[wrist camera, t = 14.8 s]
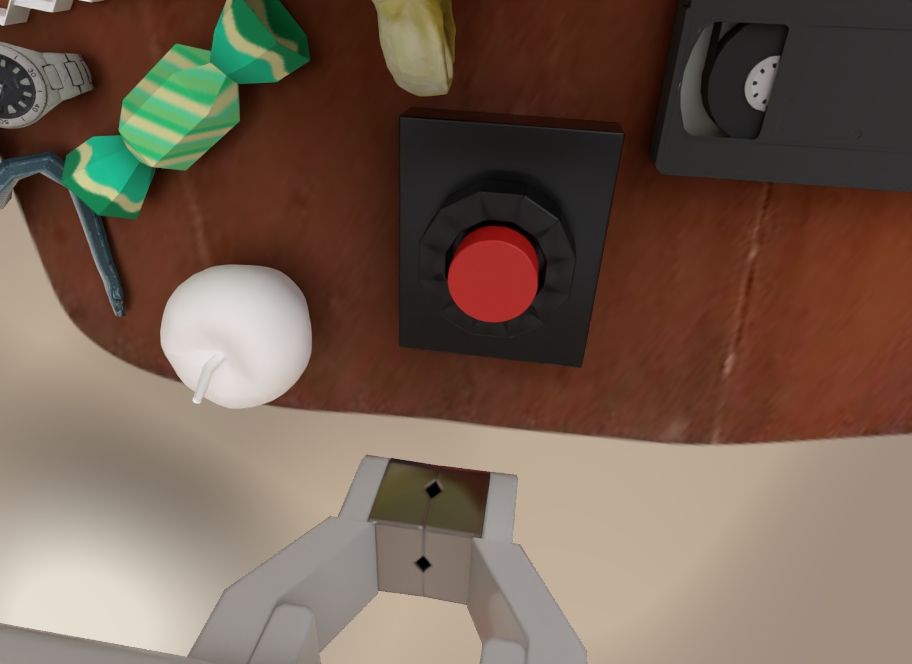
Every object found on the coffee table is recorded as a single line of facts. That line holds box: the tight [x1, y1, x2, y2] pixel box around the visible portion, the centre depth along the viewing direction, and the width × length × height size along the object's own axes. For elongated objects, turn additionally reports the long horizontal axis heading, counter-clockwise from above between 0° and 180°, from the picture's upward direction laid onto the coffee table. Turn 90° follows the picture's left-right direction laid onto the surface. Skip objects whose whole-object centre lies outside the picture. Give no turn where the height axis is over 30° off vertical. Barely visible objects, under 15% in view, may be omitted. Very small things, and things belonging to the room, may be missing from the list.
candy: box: [61, 0, 310, 219], centre depth 25 cm, size 12×3×4 cm
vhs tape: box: [649, 0, 912, 192], centre depth 22 cm, size 14×8×2 cm, turn 88°
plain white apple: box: [160, 264, 312, 409], centre depth 28 cm, size 7×7×8 cm
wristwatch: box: [0, 42, 94, 128], centre depth 25 cm, size 4×6×5 cm, turn 98°
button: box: [448, 226, 539, 322], centre depth 24 cm, size 4×4×2 cm
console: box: [399, 107, 625, 368], centre depth 26 cm, size 11×9×4 cm
